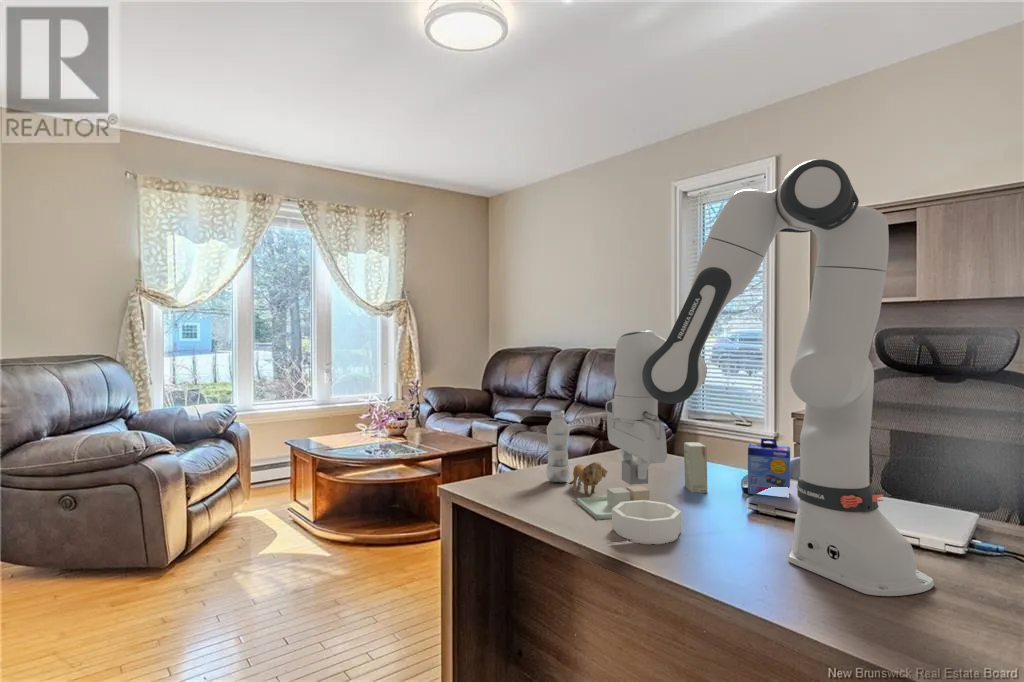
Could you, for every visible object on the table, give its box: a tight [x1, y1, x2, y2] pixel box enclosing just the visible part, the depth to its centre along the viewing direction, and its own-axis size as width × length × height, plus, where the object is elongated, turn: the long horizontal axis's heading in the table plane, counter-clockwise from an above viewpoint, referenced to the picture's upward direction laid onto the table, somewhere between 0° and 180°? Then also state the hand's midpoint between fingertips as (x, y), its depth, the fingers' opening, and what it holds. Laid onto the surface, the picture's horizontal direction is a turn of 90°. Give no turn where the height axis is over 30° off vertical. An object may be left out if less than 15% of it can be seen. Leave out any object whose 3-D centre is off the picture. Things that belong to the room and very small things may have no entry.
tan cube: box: [625, 485, 651, 501], centre depth 135 cm, size 4×4×4 cm
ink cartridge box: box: [747, 437, 791, 495], centre depth 145 cm, size 10×6×14 cm, turn 64°
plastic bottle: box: [545, 409, 571, 483], centre depth 158 cm, size 6×7×20 cm
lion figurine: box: [568, 461, 609, 496], centre depth 148 cm, size 15×5×9 cm, turn 29°
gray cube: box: [621, 459, 649, 486], centre depth 117 cm, size 4×4×4 cm
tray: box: [576, 495, 612, 520], centre depth 134 cm, size 13×16×1 cm
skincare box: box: [683, 441, 708, 494], centre depth 149 cm, size 6×4×12 cm
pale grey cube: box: [606, 486, 630, 508], centre depth 134 cm, size 4×4×4 cm
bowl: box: [611, 500, 682, 545], centre depth 118 cm, size 13×13×5 cm
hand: (635, 474), depth 117 cm, fingers closed on gray cube, 4 cm apart
